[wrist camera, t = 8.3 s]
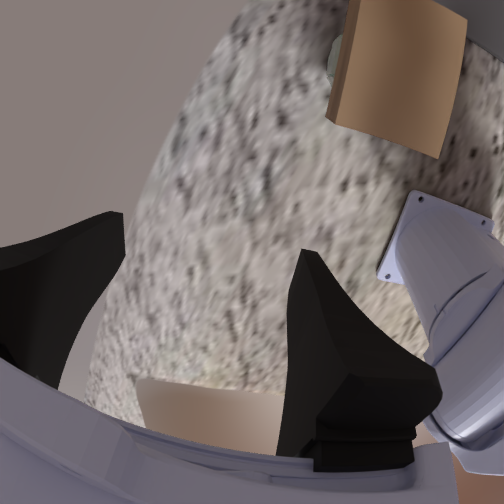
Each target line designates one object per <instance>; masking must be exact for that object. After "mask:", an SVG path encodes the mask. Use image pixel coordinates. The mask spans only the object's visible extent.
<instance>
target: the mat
mask: <svg viewBox="0 0 504 504" xmlns="http://www.w3.org/2000/svg"><path fill="white" fill-rule="evenodd" d="M432 1H434V2H436V3H438V4H440V5H442V6H444V7H446V8H448V9H449V10H451V11H453V12H455V13H456V14H458V15H460V16H462V17H463V18H465V19H467V20H468V21H467V31H466V38H467V39H469V40H471V41H472V42H474V43H475V44H477V45H478V46H480V47H481V48H483V49H484V50H486V51H487V52H489V53H490V54H492V55H493V56H495V57H496V58H497V59H499V60H500V61H502V62H503V63H504V0H432Z"/></svg>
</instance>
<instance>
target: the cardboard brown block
mask: <svg viewBox="0 0 504 504" xmlns="http://www.w3.org/2000/svg"><path fill="white" fill-rule="evenodd" d="M467 21H468V20H467V19H465V18H463V17H462V16H460V15H458V14H456V13H455V12H453V11H451V10H449V9H448V8H446V7H444V6H442V5H440V4H438V3H436V2H434V1H432V0H349V5H348V10H347V16H346V21H345V26H344V31H343V37H342V42H341V47H340V52H339V57H338V61H337V66H336V71H335V76H334V80H333V85H332V90H331V94H330V99H329V103H328V107H327V112H326V116H325V117H326V118H328V119H329V120H330V121H332V122H333V123H334V124H336V125H339V126H343V127H347V128H350V129H354V130H357V131H360V132H364V133H367V134H370V135H373V136H376V137H379V138H382V139H385V140H388V141H391V142H394V143H397V144H400V145H403V146H405V147H408V148H411V149H413V150H416V151H419V152H421V153H424V154H426V155H429V156H431V157H434V158H436V159H438V158H439V155H440V152H441V148H442V145H443V142H444V138H445V135H446V131H447V128H448V124H449V120H450V116H451V112H452V108H453V104H454V100H455V95H456V91H457V86H458V81H459V76H460V71H461V65H462V59H463V53H464V46H465V39H466V31H467Z"/></svg>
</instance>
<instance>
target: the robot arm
mask: <svg viewBox="0 0 504 504" xmlns="http://www.w3.org/2000/svg"><path fill="white" fill-rule="evenodd" d="M421 196H422V200H421V201H418V199H419V197H421ZM483 220H484V221H483ZM482 221H483V223H482ZM481 223H482V224H481ZM123 225H124V224H123V213H118V212H113V211H109V212H105V213H102V214H99V215H96V216H93V217H91V218H88V219H86V220H83V221H81V222H79V223H76V224H74V225H71V226H69V227H66V228H64V229H61V230H58V231H56V232H53V233H51V234H48V235H45V236H42V237H39V238H36V239H33V240H30V241H27V242H23V243H19V244H15V245H11V246H7V247H2V248H0V504H459V500H458V492H457V485H456V478H455V472H454V466H453V460H452V455H451V451H452V452H453V453H454V454H455V456H456V457H457V458H458V460H459V461H460V462H461V464H462V466H463V468H464V469H465V471H467V472H470V473H476V474H485V475H501V476H504V246H503V245H502V244H501V243H500V242H499V241H498V240H497V239H496V237H495V236H494V235H493V234H492V233H491V232H492V230H493V228H494V221H493V220H492V219H490V218H488V217H485V216H483V215H481V214H478V213H476V212H473V211H471V210H469V209H466V208H464V207H461V206H459V205H456V204H453V203H451V202H448V201H446V200H443V199H440V198H437V197H435V196H432V195H429V194H426V193H424V192H421V191H418V190H412V191H411V192H410V193H409V195H408V198H407V200H406V203H405V206H404V208H403V211H402V214H401V216H400V219H399V221H398V224H397V226H396V229H395V231H394V234H393V236H392V238H391V241H390V243H389V245H388V248H387V250H386V252H385V255H384V257H383V259H382V261H381V264H380V266H379V268H378V270H377V273H376V275H377V278H378V279H379V280H383V281H388V282H393V283H398V284H403V285H405V286H406V288H407V291H408V293H409V295H410V297H411V300H412V302H413V304H414V307H415V309H416V311H417V314H418V316H419V319H420V321H421V323H422V326H423V328H424V331H425V334H426V336H427V339H428V341H429V347H428V349H427V350H426V352H425V353H424V354H423V356H424V359H425V362H424V361H422V360H421V359H419V358H417V357H416V356H414V355H413V354H411V353H410V352H408V351H407V350H406V349H404V348H403V347H401V346H400V345H399V344H397V343H396V342H395V341H394V340H392V339H391V338H390V337H389V336H387V335H386V334H385V333H384V332H383V331H382V330H380V329H379V328H378V327H377V326H376V325H375V324H374V323H373V322H372V321H371V320H370V319H369V318H368V317H367V316H366V315H365V314H364V313H363V312H362V311H361V310H360V309H359V308H358V307H357V306H356V304H355V303H354V302H353V301H352V300H351V298H350V297H349V296H348V295H347V293H346V292H345V291H344V290H343V288H342V287H341V286H340V284H339V283H338V282H337V280H336V279H335V277H334V276H333V274H332V273H331V272H330V270H329V269H328V267H327V266H326V264H325V263H324V261H323V260H322V258H321V257H320V255H319V254H318V252H315V251H311V250H306V249H301V252H300V255H299V259H298V262H297V265H296V269H295V272H294V275H293V278H292V282H291V285H290V288H289V293H288V303H287V343H288V371H287V381H286V390H285V399H284V407H283V414H282V421H281V427H280V434H279V440H278V445H277V451H276V456H273V455H264V454H257V453H250V452H243V451H236V450H231V449H225V448H220V447H215V446H210V445H206V444H201V443H197V442H193V441H188V440H184V439H180V438H177V437H173V436H169V435H165V434H162V433H159V432H155V431H152V430H149V429H146V428H143V427H140V426H137V425H134V424H131V423H128V422H125V421H122V420H120V419H117V418H114V417H112V416H109V415H107V414H104V413H102V412H100V411H98V410H96V409H94V408H92V407H90V406H88V405H87V404H85V403H83V402H81V401H79V400H77V399H75V398H73V397H71V396H68V395H66V394H64V393H62V392H60V391H58V386H59V383H60V379H61V375H62V372H63V369H64V366H65V364H66V361H67V358H68V355H69V352H70V350H71V348H72V345H73V343H74V341H75V338H76V336H77V334H78V332H79V330H80V328H81V326H82V324H83V322H84V320H85V318H86V316H87V315H88V313H89V312H90V310H91V308H92V307H93V306H94V304H95V303H96V301H97V300H98V298H99V297H100V296H101V294H102V293H103V291H104V290H105V289H106V287H107V286H108V284H109V283H110V281H111V280H112V279H113V277H114V276H115V274H116V273H117V271H118V269H119V267H120V265H121V263H122V261H123V259H124V258H125V256H126V254H125V240H124V226H123ZM387 274H389V276H386V275H387ZM422 421H423V423H424V425H425V427H426V428H427V430H428V431H429V433H430V434H431V435H432V436H433V437H434V438H435V439H436V440H437V441H438V442H440V443H433V444H426V445H421V446H418V447H415V448H413V445H412V440H414V439H415V438H416V436H417V434H416V429H415V427H416V425H418V424H419V423H420V422H422Z"/></svg>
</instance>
